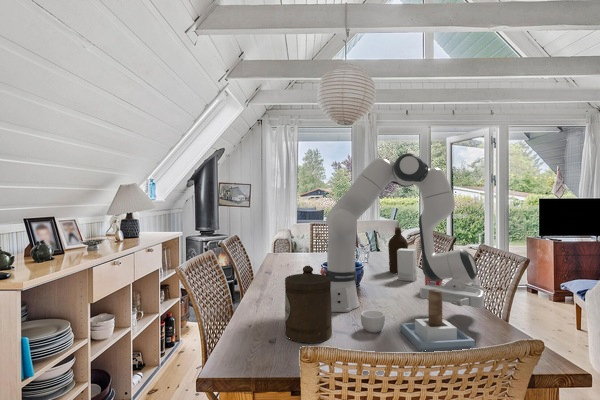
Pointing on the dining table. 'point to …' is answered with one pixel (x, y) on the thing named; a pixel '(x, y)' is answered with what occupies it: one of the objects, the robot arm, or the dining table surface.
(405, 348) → the dining table surface
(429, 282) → the soda can
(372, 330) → the teacup
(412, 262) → the skincare box
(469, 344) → the tray
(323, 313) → the wooden container
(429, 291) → the peg
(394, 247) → the olive oil
